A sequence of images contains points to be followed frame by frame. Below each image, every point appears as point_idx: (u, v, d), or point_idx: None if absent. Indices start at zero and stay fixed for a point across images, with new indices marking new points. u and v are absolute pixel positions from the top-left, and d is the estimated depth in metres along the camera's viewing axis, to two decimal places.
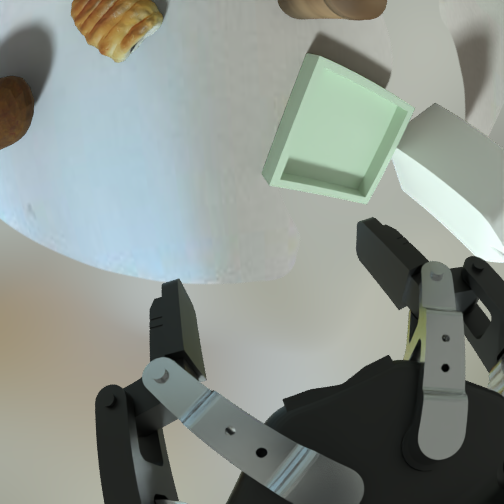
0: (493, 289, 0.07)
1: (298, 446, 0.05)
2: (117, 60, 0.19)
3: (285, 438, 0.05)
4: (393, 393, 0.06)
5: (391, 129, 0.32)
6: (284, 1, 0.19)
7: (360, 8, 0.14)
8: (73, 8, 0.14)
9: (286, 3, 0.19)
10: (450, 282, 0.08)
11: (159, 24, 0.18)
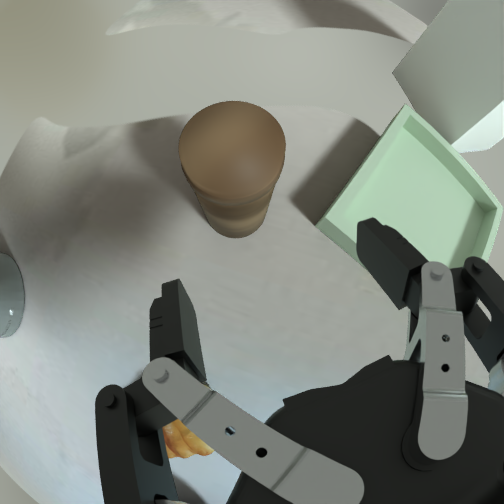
0: (493, 289, 0.07)
1: (298, 446, 0.05)
2: None
3: (285, 438, 0.05)
4: (393, 393, 0.06)
5: (428, 143, 0.23)
6: (232, 233, 0.21)
7: (263, 154, 0.12)
8: None
9: (236, 233, 0.21)
10: (450, 282, 0.08)
11: None
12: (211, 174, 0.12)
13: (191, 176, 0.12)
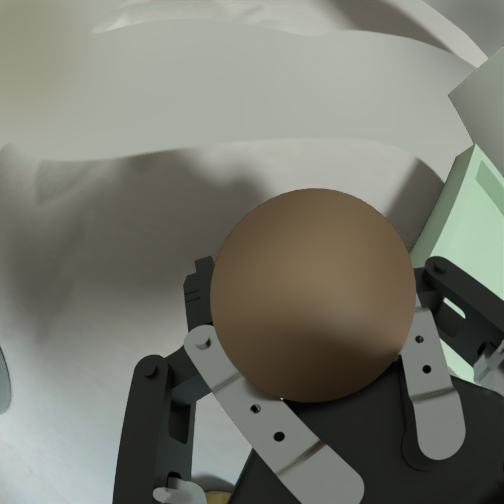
0: (461, 287, 0.07)
1: (315, 438, 0.05)
2: None
3: (306, 428, 0.05)
4: (393, 393, 0.06)
5: (494, 193, 0.17)
6: None
7: (381, 321, 0.06)
8: None
9: None
10: None
11: None
12: (285, 371, 0.06)
13: (244, 375, 0.06)
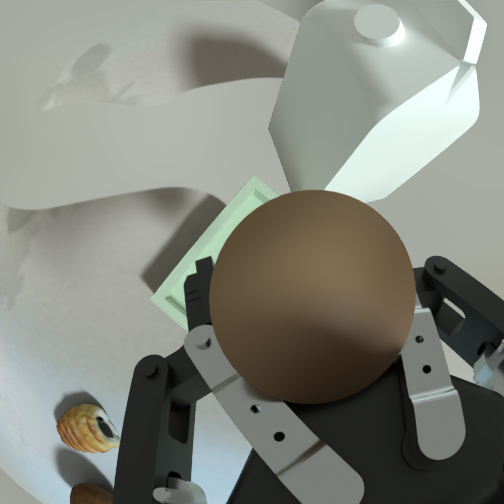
0: (461, 287, 0.07)
1: (315, 438, 0.05)
2: (116, 446, 0.25)
3: (306, 428, 0.05)
4: (393, 393, 0.06)
5: None
6: None
7: (381, 323, 0.06)
8: (66, 444, 0.24)
9: None
10: None
11: (98, 410, 0.26)
12: (284, 373, 0.06)
13: (243, 376, 0.06)
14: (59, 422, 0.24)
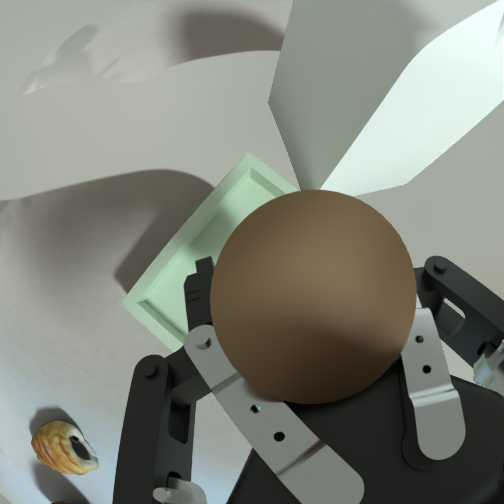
0: (461, 287, 0.07)
1: (315, 438, 0.05)
2: (94, 468, 0.20)
3: (305, 428, 0.05)
4: (393, 393, 0.06)
5: None
6: None
7: (382, 323, 0.06)
8: (43, 462, 0.18)
9: None
10: None
11: (71, 430, 0.20)
12: (285, 373, 0.06)
13: (244, 376, 0.06)
14: (33, 439, 0.19)
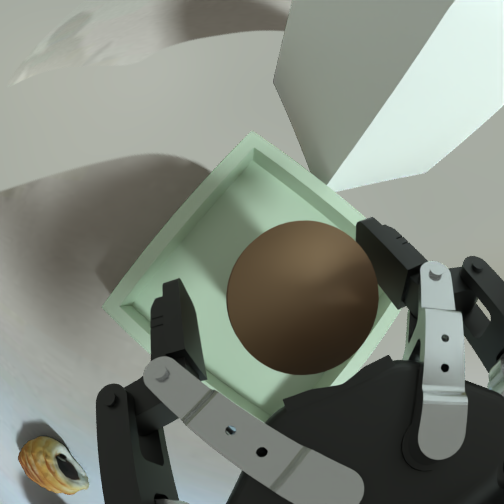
0: (492, 289, 0.07)
1: (298, 446, 0.05)
2: (84, 488, 0.16)
3: (285, 438, 0.05)
4: (393, 393, 0.06)
5: (290, 183, 0.20)
6: None
7: (350, 317, 0.09)
8: (31, 479, 0.15)
9: None
10: (449, 282, 0.08)
11: (57, 447, 0.16)
12: (280, 351, 0.09)
13: (251, 354, 0.09)
14: (19, 454, 0.15)
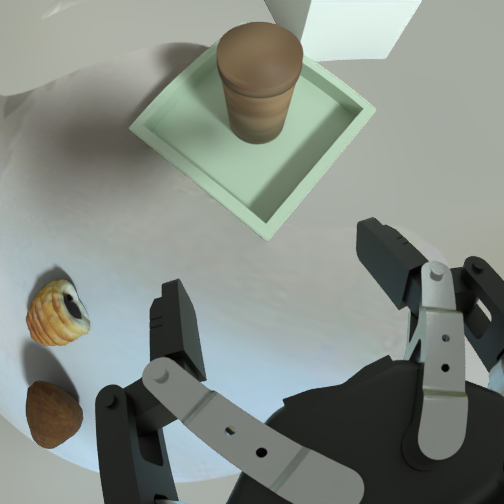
0: (493, 289, 0.07)
1: (298, 446, 0.05)
2: (84, 331, 0.25)
3: (285, 438, 0.05)
4: (393, 393, 0.06)
5: None
6: (254, 138, 0.23)
7: (285, 58, 0.13)
8: (35, 340, 0.24)
9: (258, 137, 0.22)
10: (450, 282, 0.08)
11: (66, 285, 0.24)
12: (244, 70, 0.13)
13: (227, 71, 0.13)
14: (28, 311, 0.24)
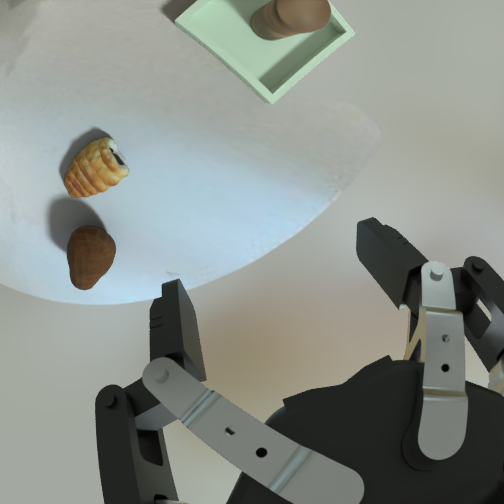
0: (493, 289, 0.07)
1: (298, 446, 0.05)
2: (126, 174, 0.33)
3: (285, 438, 0.05)
4: (393, 393, 0.06)
5: None
6: (270, 38, 0.26)
7: (320, 17, 0.19)
8: (74, 196, 0.32)
9: (273, 38, 0.26)
10: (450, 282, 0.08)
11: (109, 141, 0.30)
12: (296, 20, 0.18)
13: (286, 18, 0.18)
14: (67, 172, 0.30)
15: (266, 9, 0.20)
